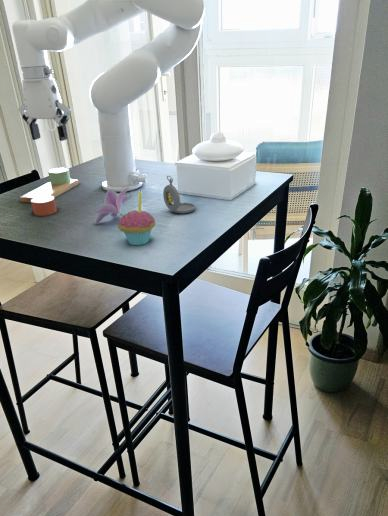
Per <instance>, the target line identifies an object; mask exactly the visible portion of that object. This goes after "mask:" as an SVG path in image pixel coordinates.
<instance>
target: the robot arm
mask: <svg viewBox="0 0 388 516" xmlns="http://www.w3.org/2000/svg"><path fill="white" fill-rule="evenodd" d="M205 8H206V7H205V1H204V0H86V1H84V2H83V3H81V4H80V5H78V6H77V7H74V8H73V9H71V10H69V11H67V12H65V13H63V14H61V15H59V16H53V17H47V18H43V19H39V20H36V19H23V20H15V21H14V22H12V26H11V28H12V29H11V30H12V33H13V34H12V35H13V38H14V43H15V47H16V52H17V56H18V60H19V64H20V70H21V74H22V78H23V80H21V81H22V83H21V84H22V95H23V96H22V97H23V102H24V103H23V104H22V105H21V106H19V108H18V109H17V111H18V112H19V114H20V115H21V117H22V119H23V120H24V121H25V123H26V125H27V126H28V127H29V130H30V135H31V139H32V140H33V141H36V140H39V139H41V133H40V128H39V125H38V123H37V120H53V121H55V123H56V124H57V126H56V130H57V134H58V139H59V141H60V142H64V141H66V140H68V131H67V124H68V121H69V120H70V114H71V108H70V107H69V106H67V105H65V104H64V103H63V102H62V99H61V93H60V91H59V88H58V86H57V82H56V80H55V78H54V77H52V75H53V74H54V70H53V68H50V65H49V60H48V58H49V57H48V53H47V51H50V52H62V51H65V50H67V49H70V48H72V47H74V46H76V45H78V44H80V43H82V42H84V41H86V40H88V39H90V38H92V37H94V36H96V35H98V34H100V33H104V32H108V31H109V30H112V29H114V28H115V27H118V26H120V25H122V24H124V23H126V22H127V21H130V20H131V19H134V18H136V17H137V16H140V15H142V14H144V13H146V12H147V13H149V14H151V15H153V16H155V17H157V18H160V19H162V20H164V21H167V22H168V23H170V24H169V25H168V26H167V28H166V29H164V30H163V31H162V32H160V33H159V34H158V35H157V36H155V37H154V38H153V39H151V40H150V41H149V42H147V43H146V44H144V45H142V46H141V47H139V48H138V49H135V50H133V51H131V52H130V53H129V54H128V55H127V56H126V57H124V58H122V59H121V60H120V61H119V62H117V63H116V64H114V65H113V66H112V67H110V68H109V69H107V70H106V71H104V72H102V73H100V74H99V75H98V76H96V77H95V79H94V80H93V81H92V82H91V85H90V88H89V99H90V102H91V104H92V106H93V108H95V109H96V115H97V123H98V131H99V132H98V133H99V138H100V139H99V140H100V146H101V152H102V158H103V159H102V160H103V167H104V173H105V181H103V182H102V183H101V187H102V189H103V190H104V191H106V192H107V191H108V190H109V189H111V190H113V191H115V192H116V193H120V192H121V191H123V190H124V189H125V188H127V187H129V188H128V190H127V192H129V191H134V190H137V189H140V188H142V186H143V184H147V183H149V177H148V175H147V174H140V169H137V167H136V159H135V149H134V140H133V127H132V120H131V108H130V107H131V106H130V104H132V103H133V102H135V101H136V100H139V98H141V97H142V96H144V95H145V94H147V93H148V92H149V91H150V90H152V89H153V88H154V87H155V86H156V84H157V83H158V80H159V78H161V77H162V76H164V75H166V74H167V73H168V72H169V71H171V70H172V69H173V68H175V67H176V66H177V65H179V64H180V63H181V62H182V61H184V60H185V59H186V58H188V56H190V54H191V53H192V52H193V50H194V49H195V47H196V46H197V44H198V42H199V39H200V36H201V33H202V26H203V18H204V16H205V11H206V10H205Z"/></svg>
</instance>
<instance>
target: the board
mask: <svg viewBox="0 0 388 516" xmlns="http://www.w3.org/2000/svg"><path fill="white" fill-rule="evenodd" d="M70 179H71V181H70V182H69V183H66V184H61V185H54V184H51V183H50V181H49V182H46V183H45V184H43V185H41V186H39V187H37V188H35V189H33V190H31V191H29V192H27V193H25V194H23V195H21V196H20V197H19V199H20V200H19V201H20V203H26V204H27V203H28V204H31V199H33V198H35V197H39V196H53V197H54V198H55V199H56V198H57V197H59V196H61V195H62V194H65V193H66V192H68V191H69V190H71V189H72V188H75V187H76V186H78V185H79V184H80V183H79V179H76V178H70Z"/></svg>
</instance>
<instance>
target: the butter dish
mask: <svg viewBox="0 0 388 516" xmlns="http://www.w3.org/2000/svg"><path fill="white" fill-rule="evenodd" d="M191 152H192V154H189V155H187V156H185V157H183V158H181V159H179V160H177V161H175V162H174V165H175V166H176V176H177V177H176V178H177V191H178V194H179V195H180V194H181V195H189V196H196V197H204V198H211V199H218V200H225V201H232V200H234V199H235V198H236V197H238V196H240V195H241V194H242V193H244V192H245V191H247V190H248V189H249V188H251V187H253V186H254V185H256V183H257V155H256V152H246V151H245V152H244V147H243V145H242V144H241V143H239V142H237V141H234V140H230V139H227V136H226V135H225V134H224V133H223V132H222V131H214V132H213V133H212V134H211V135H210V138H209V140H205V141H202V142H200V143H197V144H196V145H195V146H194V147H193V148H192V151H191Z"/></svg>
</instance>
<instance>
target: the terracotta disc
mask: <svg viewBox="0 0 388 516" xmlns="http://www.w3.org/2000/svg"><path fill="white" fill-rule="evenodd" d="M55 199H56V197H55V198H54V197H53V196H39V197H35V198H33V199H31V203H30V205H31V208H32V213H33V215H34V216H38V217H45V216H50V215H53V214H55V213H57V212H58V209H57V204H56V203H57V202H56V200H55Z"/></svg>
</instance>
